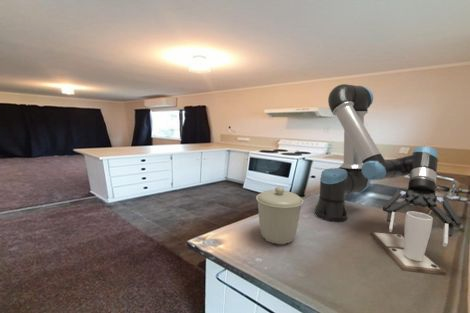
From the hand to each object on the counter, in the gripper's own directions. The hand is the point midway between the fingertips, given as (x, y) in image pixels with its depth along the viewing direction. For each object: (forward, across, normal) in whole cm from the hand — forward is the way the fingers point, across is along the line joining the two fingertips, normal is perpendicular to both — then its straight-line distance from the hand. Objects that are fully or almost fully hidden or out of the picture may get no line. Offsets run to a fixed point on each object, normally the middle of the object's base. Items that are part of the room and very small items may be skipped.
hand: (416, 237), depth 70 cm
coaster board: (+2, +3, -12) cm, 12 cm away
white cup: (+4, 0, -8) cm, 9 cm away
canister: (+17, +42, +3) cm, 46 cm away
